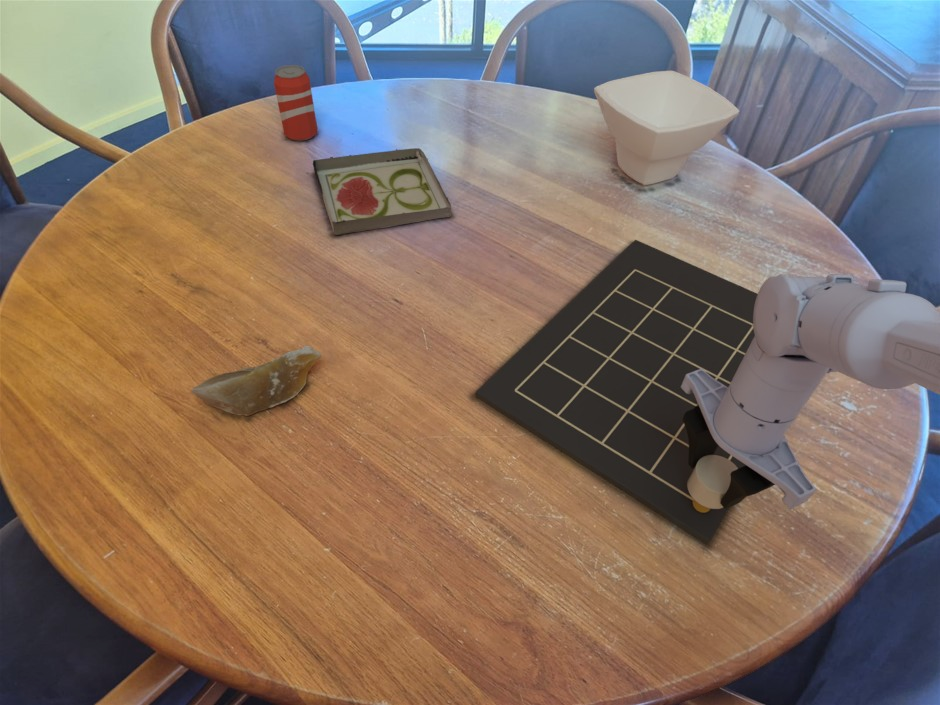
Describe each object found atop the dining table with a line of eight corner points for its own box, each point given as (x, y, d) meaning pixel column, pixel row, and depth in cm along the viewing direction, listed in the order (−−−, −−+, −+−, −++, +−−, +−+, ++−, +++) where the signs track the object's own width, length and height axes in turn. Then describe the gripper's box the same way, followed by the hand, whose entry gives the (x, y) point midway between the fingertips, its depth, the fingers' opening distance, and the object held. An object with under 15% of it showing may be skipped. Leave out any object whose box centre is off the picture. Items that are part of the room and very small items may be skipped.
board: (707, 545, 63) (710, 540, 62) (475, 397, 75) (475, 391, 74) (829, 332, 84) (833, 326, 84) (634, 244, 97) (635, 238, 96)
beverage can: (305, 123, 121) (293, 60, 112) (324, 135, 118) (315, 71, 109) (278, 134, 118) (264, 70, 109) (298, 146, 115) (285, 81, 106)
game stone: (741, 499, 62) (752, 483, 60) (706, 515, 61) (716, 500, 58) (712, 464, 65) (721, 448, 62) (678, 479, 63) (686, 463, 61)
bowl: (571, 161, 114) (584, 85, 104) (655, 139, 120) (674, 66, 110) (634, 214, 102) (654, 135, 92) (723, 187, 109) (751, 110, 99)
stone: (177, 364, 69) (306, 316, 73) (193, 388, 74) (312, 342, 79) (197, 418, 66) (330, 365, 71) (212, 439, 72) (334, 388, 76)
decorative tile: (424, 161, 114) (313, 170, 109) (424, 145, 112) (311, 154, 107) (452, 224, 101) (327, 238, 96) (453, 208, 98) (325, 221, 94)
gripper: (870, 446, 48) (798, 528, 58) (742, 326, 57) (698, 415, 67) (803, 478, 46) (740, 558, 56) (680, 348, 55) (645, 437, 65)
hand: (714, 482), depth 61 cm, fingers closed on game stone, 4 cm apart
